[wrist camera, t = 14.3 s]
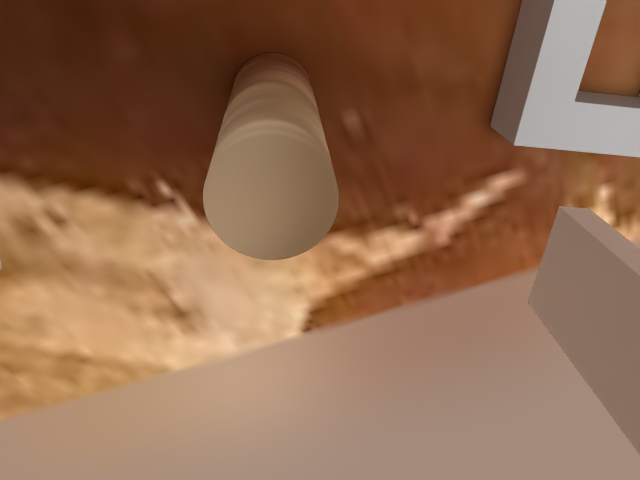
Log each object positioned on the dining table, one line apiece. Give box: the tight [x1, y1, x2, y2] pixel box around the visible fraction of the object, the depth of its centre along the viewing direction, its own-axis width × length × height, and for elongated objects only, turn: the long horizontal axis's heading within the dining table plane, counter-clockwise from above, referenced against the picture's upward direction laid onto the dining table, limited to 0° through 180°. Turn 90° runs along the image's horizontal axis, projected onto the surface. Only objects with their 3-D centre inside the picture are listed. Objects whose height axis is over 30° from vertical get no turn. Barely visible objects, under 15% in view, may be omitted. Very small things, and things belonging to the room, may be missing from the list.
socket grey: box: [490, 0, 640, 157], centre depth 24 cm, size 9×9×3 cm
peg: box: [203, 53, 339, 260], centre depth 20 cm, size 4×4×12 cm
